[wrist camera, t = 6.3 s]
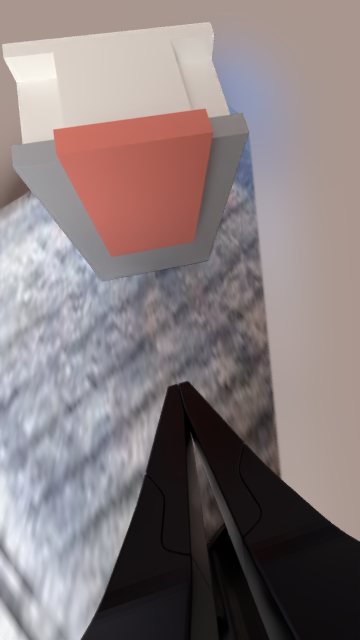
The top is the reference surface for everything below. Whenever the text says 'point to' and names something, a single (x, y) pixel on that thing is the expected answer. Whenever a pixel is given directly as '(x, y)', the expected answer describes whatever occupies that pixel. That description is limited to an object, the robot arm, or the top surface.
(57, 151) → the button
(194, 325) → the top surface
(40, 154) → the box
